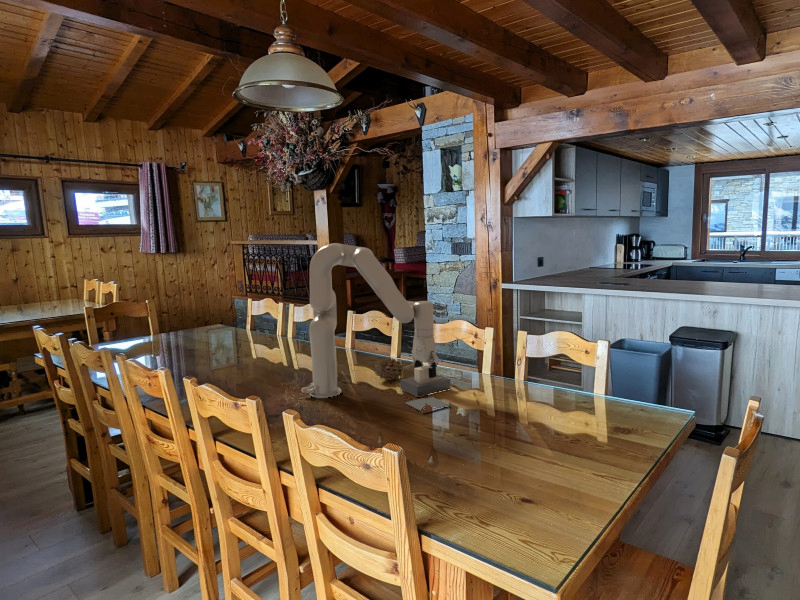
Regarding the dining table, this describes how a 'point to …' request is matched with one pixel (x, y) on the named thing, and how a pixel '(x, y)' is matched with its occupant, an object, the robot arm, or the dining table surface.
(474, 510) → the dining table surface
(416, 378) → the cream upright block
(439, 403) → the mat
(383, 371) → the pine cone
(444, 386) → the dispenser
